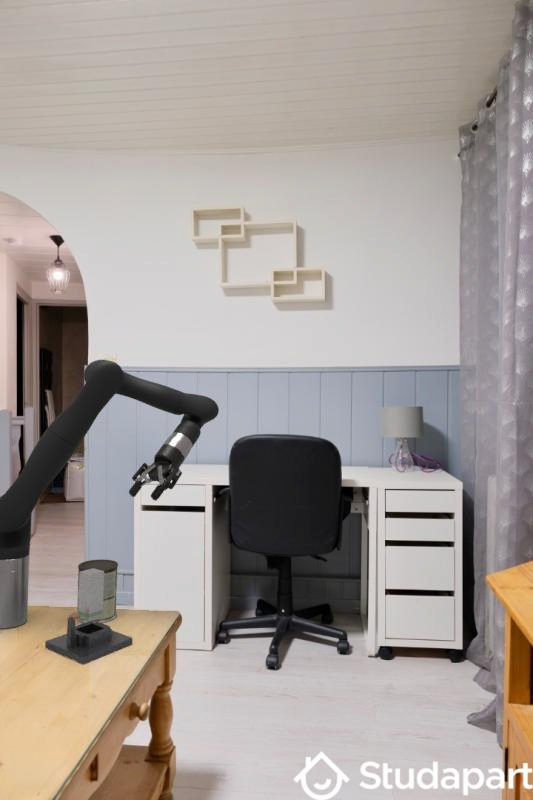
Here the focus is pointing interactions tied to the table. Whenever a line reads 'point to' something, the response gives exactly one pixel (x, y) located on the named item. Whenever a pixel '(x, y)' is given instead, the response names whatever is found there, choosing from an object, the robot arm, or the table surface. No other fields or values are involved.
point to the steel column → (91, 594)
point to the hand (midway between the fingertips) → (142, 496)
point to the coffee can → (109, 586)
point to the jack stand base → (87, 641)
